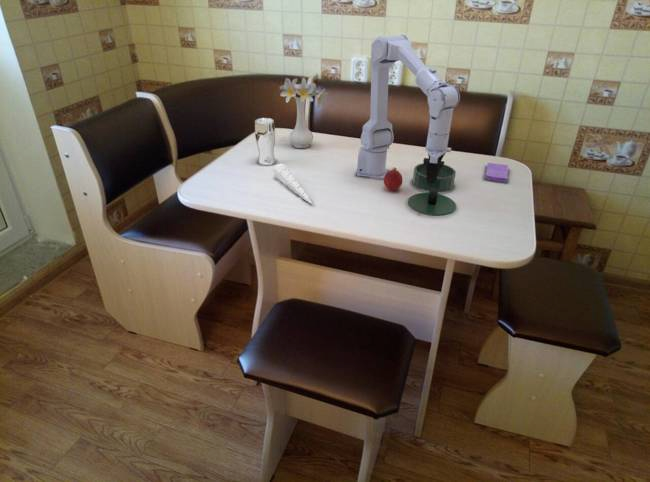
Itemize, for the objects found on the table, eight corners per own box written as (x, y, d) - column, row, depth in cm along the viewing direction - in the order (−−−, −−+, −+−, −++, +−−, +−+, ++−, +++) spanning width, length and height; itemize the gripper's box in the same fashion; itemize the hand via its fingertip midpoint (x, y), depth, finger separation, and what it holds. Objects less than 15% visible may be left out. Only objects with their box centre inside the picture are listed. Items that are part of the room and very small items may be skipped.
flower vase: (321, 154, 170) (321, 85, 157) (275, 148, 174) (272, 81, 161) (330, 142, 181) (331, 77, 168) (287, 137, 185) (285, 73, 172)
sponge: (484, 180, 152) (485, 175, 151) (486, 166, 162) (487, 161, 161) (506, 183, 150) (507, 178, 149) (507, 169, 160) (508, 164, 159)
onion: (400, 196, 141) (403, 172, 137) (382, 194, 142) (384, 170, 138) (401, 188, 146) (404, 165, 142) (383, 186, 147) (385, 163, 142)
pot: (410, 190, 144) (412, 175, 142) (415, 174, 155) (417, 160, 153) (451, 196, 141) (454, 181, 139) (454, 179, 152) (456, 165, 149)
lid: (404, 213, 131) (406, 196, 129) (410, 193, 143) (412, 177, 140) (454, 220, 128) (457, 204, 125) (456, 199, 140) (459, 183, 137)
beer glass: (280, 160, 164) (278, 119, 156) (268, 167, 159) (266, 125, 151) (265, 156, 167) (262, 116, 159) (253, 162, 162) (249, 121, 154)
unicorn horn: (300, 207, 133) (300, 192, 131) (272, 177, 152) (272, 164, 149) (315, 204, 135) (315, 190, 133) (286, 175, 153) (285, 162, 151)
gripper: (452, 142, 117) (444, 189, 125) (455, 125, 129) (447, 170, 136) (424, 139, 119) (418, 186, 126) (430, 123, 131) (424, 167, 138)
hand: (432, 177), depth 131 cm, fingers open, 7 cm apart
